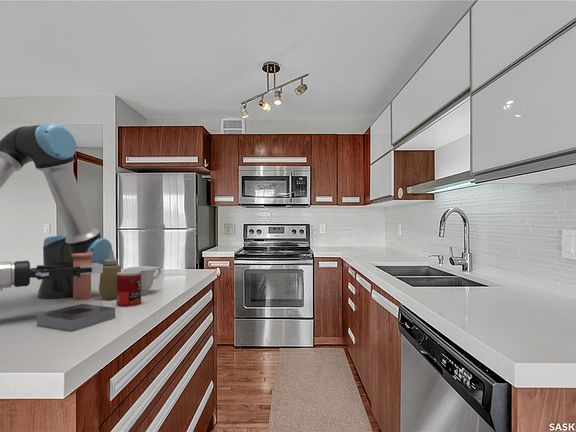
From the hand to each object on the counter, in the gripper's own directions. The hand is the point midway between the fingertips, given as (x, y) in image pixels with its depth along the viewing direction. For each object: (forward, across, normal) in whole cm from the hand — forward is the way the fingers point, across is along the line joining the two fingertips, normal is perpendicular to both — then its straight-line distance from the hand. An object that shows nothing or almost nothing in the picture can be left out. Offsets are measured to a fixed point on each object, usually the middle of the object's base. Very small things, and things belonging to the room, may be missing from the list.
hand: (100, 267), depth 122 cm
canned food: (+9, 0, -14) cm, 16 cm away
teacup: (+19, -16, -13) cm, 28 cm away
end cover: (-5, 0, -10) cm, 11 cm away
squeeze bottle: (+6, -13, -13) cm, 20 cm away
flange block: (-9, +13, -14) cm, 21 cm away
